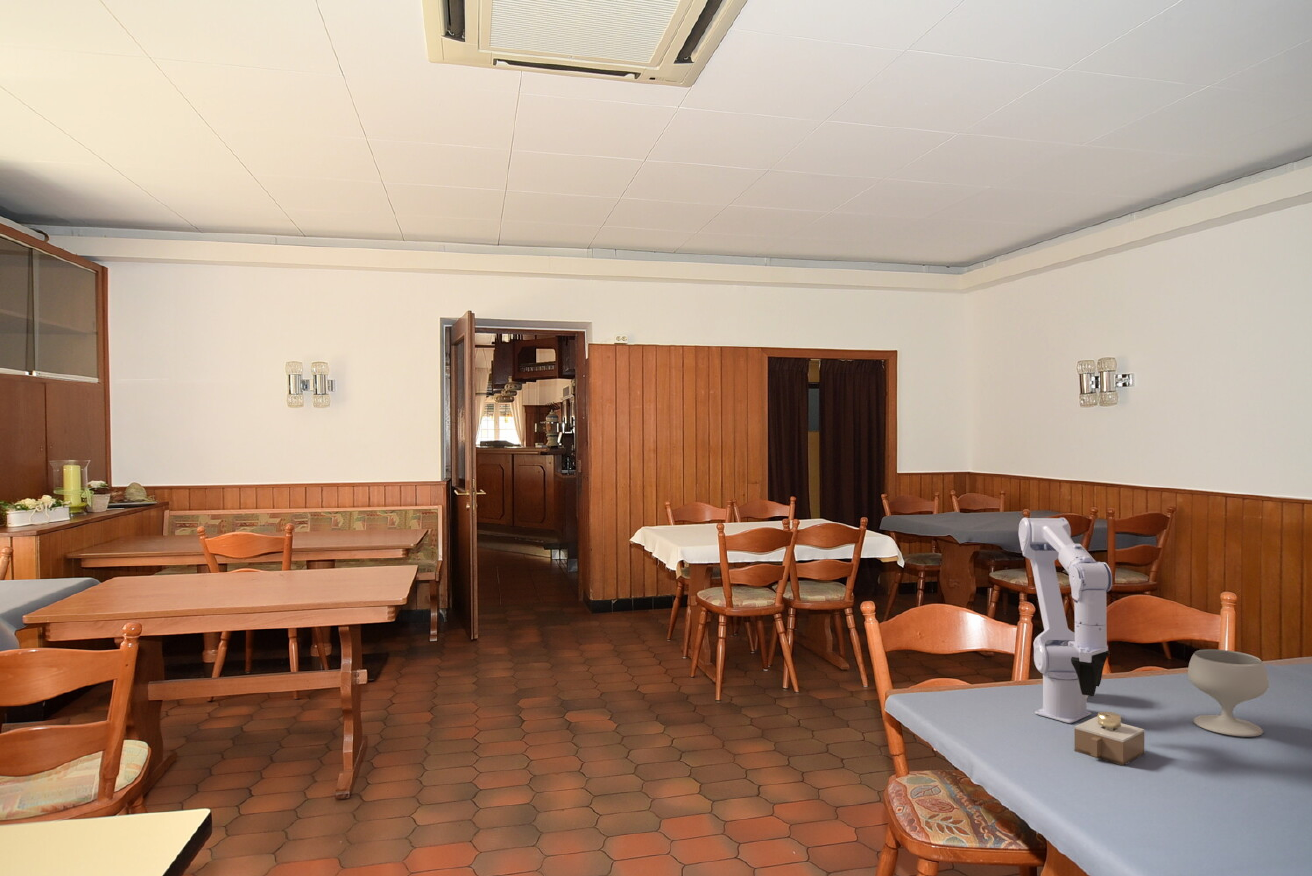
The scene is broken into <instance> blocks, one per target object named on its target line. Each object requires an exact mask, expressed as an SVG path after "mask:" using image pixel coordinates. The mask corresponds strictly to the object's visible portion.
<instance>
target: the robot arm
mask: <svg viewBox="0 0 1312 876" xmlns="http://www.w3.org/2000/svg"><path fill="white" fill-rule="evenodd" d="M1071 535H1072V530H1071V525H1070V523H1069V521H1068V520H1067V519H1066V518H1065V517H1059V518H1058V517H1057V518H1055V517H1054V518H1052V517H1048V518H1047V517H1043V518H1041V517H1040V518H1039V517H1038V518H1037V517H1035V518H1033V517H1030V518H1029V517H1023V518H1021V520H1020V522H1019V524H1018V539H1019V544H1020V549H1021V551H1022V556H1023V557H1024V558H1027V559H1028V560H1029V561H1030V564H1031V569H1032V575H1033V579H1034V584H1035V589H1036V595H1037V599H1038V600H1037V601H1038V605H1039V610H1040V616H1041V620H1042V626H1043V631H1042V632H1041V633H1039V634H1038V635H1037V636H1036V637H1035V638H1034V641H1033V662H1034V665H1035V667H1036V669H1037V671H1038V672H1040V673H1041V674H1042V708H1039V709H1038V710H1035V711H1034V714H1035V715H1037V716H1038V715H1039V716H1041V717H1045V718H1049V719H1052V720H1057V721H1058V722H1059V721H1060V722H1062V723H1063V722H1064V723H1067V724H1072V723H1075V722H1077V721H1079V720H1082V719H1083V718H1086V717H1088V716H1091V715H1092V712H1091V711H1088V708H1087V706H1088V705H1087V703H1088V702H1087V700H1088V698H1087V695H1088V697H1089V696H1090V697H1094V696H1095V694H1096V690H1097V687H1100V684H1101V682H1102V677H1103V671H1104V667H1105V663H1106V662H1107V658H1108V657H1109V656H1110V653H1111V651H1110V650H1109V645H1108V644H1107V643H1108V642H1107V638H1108V635H1107V632H1108V631H1107V627H1108V626H1107V625H1108V624H1107V618H1108V617H1107V593H1108V592H1109V591H1110V590H1111V589H1112V585H1113V574H1112V571H1111V568H1110V567H1109V565H1108V564H1107V562H1105V561H1104V562H1103V561H1102V562H1101V561H1096V560H1095V559H1094V558H1093V557H1092V555H1091V554H1090V553H1089V552H1088V551H1087V549H1086V548H1085V547H1084V546H1083V545H1082V544H1081V543H1075V542H1074V541H1073V539H1072V536H1071ZM1056 560H1058V562H1059V563H1060V564H1061V566H1062V567H1063V568H1064V570H1065V571H1066V572H1067V574H1068V580H1069V585H1070V589H1071V598H1072V599H1074V602H1073V603H1074V606H1073V608H1074V631H1072V630H1071V629H1070V628H1069V627H1068V621H1067V617H1066V612H1065V611H1066V610H1065V608H1064V602H1063V598H1062V593H1061V588H1060V582H1059V579H1058V573H1057V569H1056V564H1055V561H1056Z"/></svg>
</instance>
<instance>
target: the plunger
mask: <svg viewBox="0 0 1312 876" xmlns="http://www.w3.org/2000/svg"><path fill="white" fill-rule="evenodd" d="M1097 717H1098V724H1099V725H1101V726H1104V727H1105V729H1107V730H1111V731H1113V728H1119V727H1121V723H1122V716H1121V715H1120V714H1118V713H1115V712H1111V711H1099V712H1097Z"/></svg>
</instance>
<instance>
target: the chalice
mask: <svg viewBox="0 0 1312 876" xmlns="http://www.w3.org/2000/svg"><path fill="white" fill-rule="evenodd" d="M1187 677H1188V679H1189V680H1190V683H1191V684H1192V685H1193V686H1194V687H1196V688H1197V689H1198V690H1200V691H1201V692H1203V693H1205V694H1206V695H1208V696H1209V697H1211V698H1212V699H1214V700H1215V701H1216V702H1217V703H1218V704H1219V705H1220V707H1221V710H1222V711H1221V714H1220V715H1219V714H1218V715H1217V714H1204V715H1197V716H1196V717H1194V718H1193V719H1192V722H1193V724H1195V725H1196V726H1197V727H1200V728H1201V729H1204V730H1206V731H1210V732H1214V733H1217V734H1222V735H1227V736H1233V737H1243V738H1245V737H1258V736H1261V735H1263V734H1264V730H1263V729H1262V728H1261V727H1260V726H1258V725H1257V724H1255V723H1253V722H1252V721H1251V722H1250V721H1248V720H1244V719H1241V718H1237V717H1235V716H1234V712H1233V711H1234V709H1235V708H1236V706H1237V705H1239V704H1241V703H1244V702H1245V701H1246V702H1247V701H1250V700H1254V699H1256V698H1259V697H1262V696H1263V695H1264V694H1265V693H1266V692H1267V691H1268V689H1269V686H1270V681H1269V676H1268V671H1267V668H1266V666H1265V664H1264V663H1263V661H1262V660H1261V659H1260V658H1259V657H1257V656H1254V655H1251V654H1248V653H1244V652H1240V651H1235V650H1226V649H1217V648H1216V649H1210V648H1208V649H1207V648H1205V649H1199V650H1196V651H1194V652H1193V654H1192V656H1191V658H1190V660H1189V663H1188V668H1187Z"/></svg>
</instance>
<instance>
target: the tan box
mask: <svg viewBox="0 0 1312 876" xmlns="http://www.w3.org/2000/svg"><path fill="white" fill-rule="evenodd" d="M1074 751H1075V752H1078V753H1080V754H1083V755H1087V756H1090V757H1094V758H1096V759H1099V760H1103V761H1106V762H1108V763H1113V764H1117V765H1119V766H1125V765H1127V764H1129V763H1131V762H1133V761H1135V760H1136V759H1138V758H1140V757H1141V756H1140V755H1142V756H1144V755H1145V729H1144V728H1140V727H1137V726H1133V725H1129V724H1125V723H1122V722H1121V727H1119V728H1113V731H1111V730H1107V729H1105V727H1104V726H1101V725H1099V724H1098V716H1094V717H1092V718H1091V719H1088V720H1086V721H1083V722H1081V723H1080V724H1077V725H1075V726H1074ZM1139 756H1140V757H1139ZM1137 757H1138V758H1137ZM1128 762H1129V763H1128ZM1126 763H1127V764H1126Z"/></svg>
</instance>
